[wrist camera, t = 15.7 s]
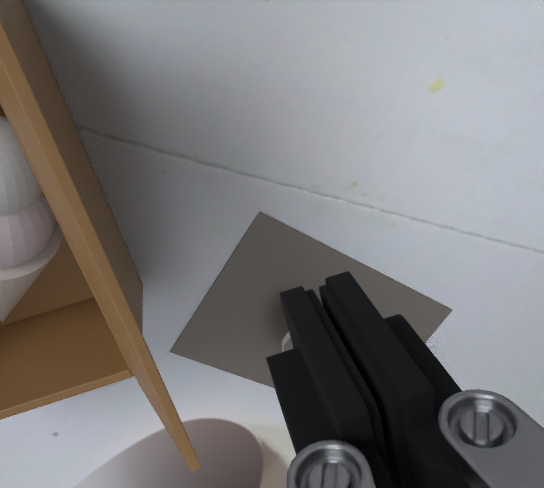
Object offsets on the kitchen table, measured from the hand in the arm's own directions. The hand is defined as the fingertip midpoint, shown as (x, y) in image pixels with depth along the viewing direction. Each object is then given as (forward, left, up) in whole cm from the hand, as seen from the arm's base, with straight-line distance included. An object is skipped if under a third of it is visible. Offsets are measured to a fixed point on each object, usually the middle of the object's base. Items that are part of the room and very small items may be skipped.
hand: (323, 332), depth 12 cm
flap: (0, -6, -8) cm, 10 cm away
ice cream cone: (-1, -14, -18) cm, 23 cm away
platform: (+17, +3, -20) cm, 26 cm away
